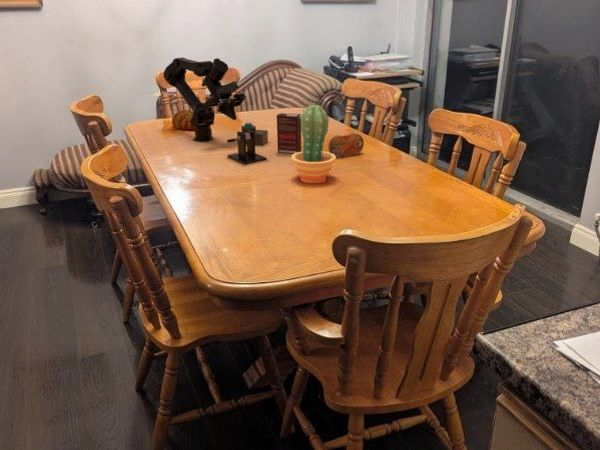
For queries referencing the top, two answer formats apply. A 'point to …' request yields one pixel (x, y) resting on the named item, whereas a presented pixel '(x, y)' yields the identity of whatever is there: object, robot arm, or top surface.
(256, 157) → the bracket
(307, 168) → the potted cactus
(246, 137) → the lever
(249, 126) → the button
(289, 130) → the supplement box
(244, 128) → the control block
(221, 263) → the top surface
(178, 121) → the pastry
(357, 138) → the tin
